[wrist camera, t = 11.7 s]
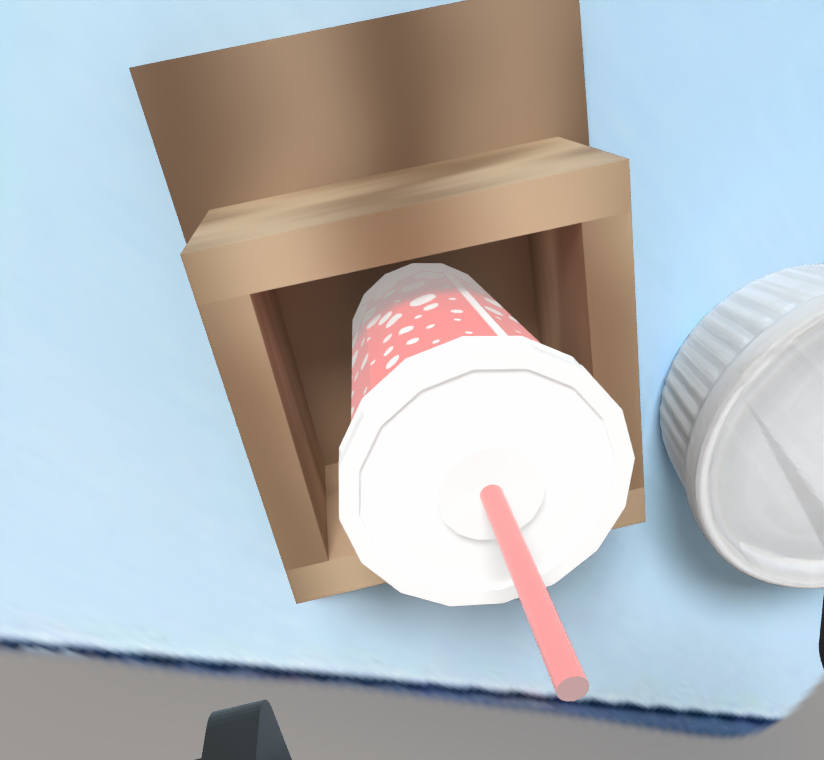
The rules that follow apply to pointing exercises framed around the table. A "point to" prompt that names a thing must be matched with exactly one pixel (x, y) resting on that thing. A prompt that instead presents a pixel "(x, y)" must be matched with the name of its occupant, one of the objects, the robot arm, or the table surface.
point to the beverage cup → (476, 455)
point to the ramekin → (755, 426)
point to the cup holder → (387, 223)
